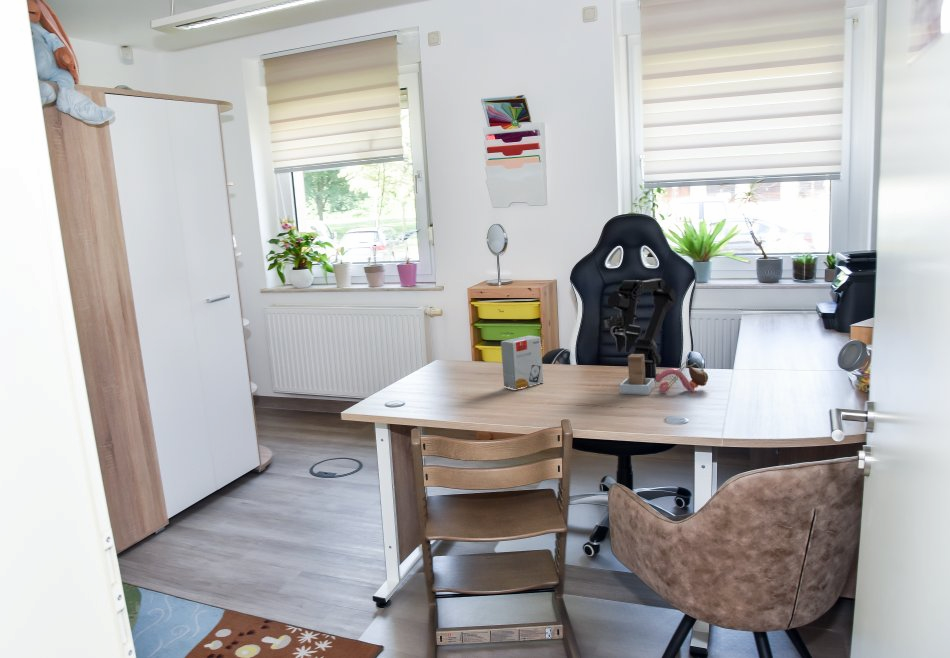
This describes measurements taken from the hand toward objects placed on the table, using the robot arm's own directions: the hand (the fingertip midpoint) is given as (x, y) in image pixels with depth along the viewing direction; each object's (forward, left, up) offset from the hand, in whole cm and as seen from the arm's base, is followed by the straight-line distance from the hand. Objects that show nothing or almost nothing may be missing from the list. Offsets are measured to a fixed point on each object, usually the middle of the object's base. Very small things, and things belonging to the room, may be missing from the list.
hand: (622, 352), depth 266 cm
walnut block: (+4, +6, -14) cm, 15 cm away
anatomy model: (+2, +22, -14) cm, 27 cm away
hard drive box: (+2, -41, -14) cm, 44 cm away
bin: (+4, +6, -14) cm, 16 cm away
